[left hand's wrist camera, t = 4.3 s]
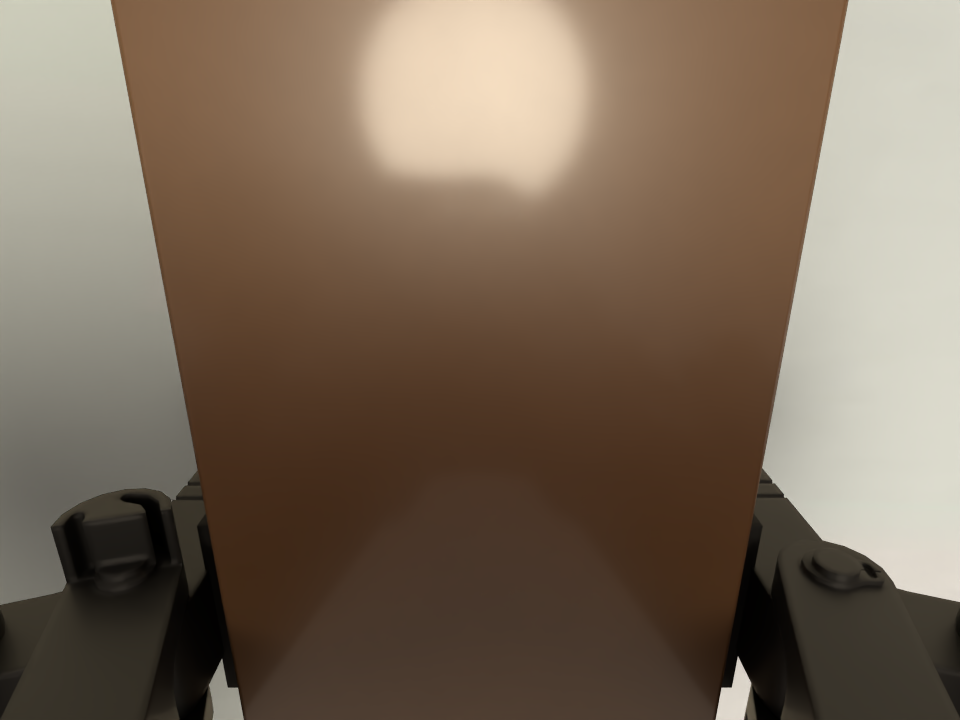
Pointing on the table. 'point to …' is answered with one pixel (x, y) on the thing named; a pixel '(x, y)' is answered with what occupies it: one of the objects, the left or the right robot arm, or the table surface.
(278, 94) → the thick board
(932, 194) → the table surface
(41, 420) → the table surface
